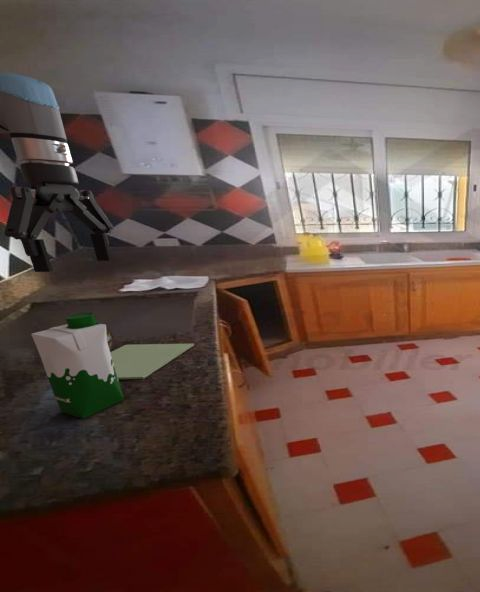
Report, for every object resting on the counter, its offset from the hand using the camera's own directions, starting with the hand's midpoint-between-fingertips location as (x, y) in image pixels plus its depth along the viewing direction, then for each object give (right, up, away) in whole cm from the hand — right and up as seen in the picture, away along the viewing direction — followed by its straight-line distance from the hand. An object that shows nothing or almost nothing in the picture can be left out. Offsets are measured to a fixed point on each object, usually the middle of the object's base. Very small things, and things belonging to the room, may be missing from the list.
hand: (77, 265), depth 71 cm
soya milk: (+6, -31, -3) cm, 32 cm away
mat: (-3, -25, +17) cm, 30 cm away
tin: (-17, -25, +17) cm, 35 cm away
